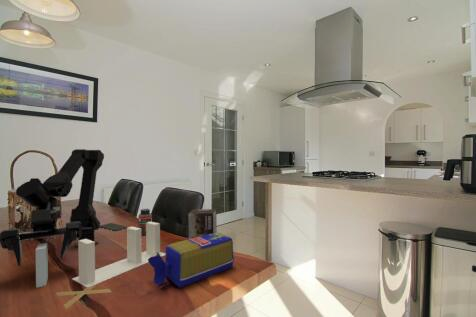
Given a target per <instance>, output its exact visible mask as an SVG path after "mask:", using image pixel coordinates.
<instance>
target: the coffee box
mask: <svg viewBox="0 0 476 317" xmlns="http://www.w3.org/2000/svg"><path fill="white" fill-rule="evenodd" d="M187 216H188V239H192V238H195V237H200V236H204V235H208V234H212V233H218V229H217V226H218V225H217V224H218V222H217V220H218V218H217V209H216V208H213V209H212V208H204V209H203V208H200V209H198V208H197V209H195V208H193V209H192V210H191V211H190V212H188V215H187Z"/></svg>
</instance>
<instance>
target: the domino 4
mask: <svg viewBox="0 0 476 317" xmlns="http://www.w3.org/2000/svg"><path fill="white" fill-rule="evenodd" d="M145 239H146V240H145V243H146V244H145V246H146V247H145V248H146V250H145V251H146V253H147V254H150V255H153V256H156V255H157V252H158V253H159V255H160V252H161V223H159V222H155V221H152V222H147V223H146V235H145Z"/></svg>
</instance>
